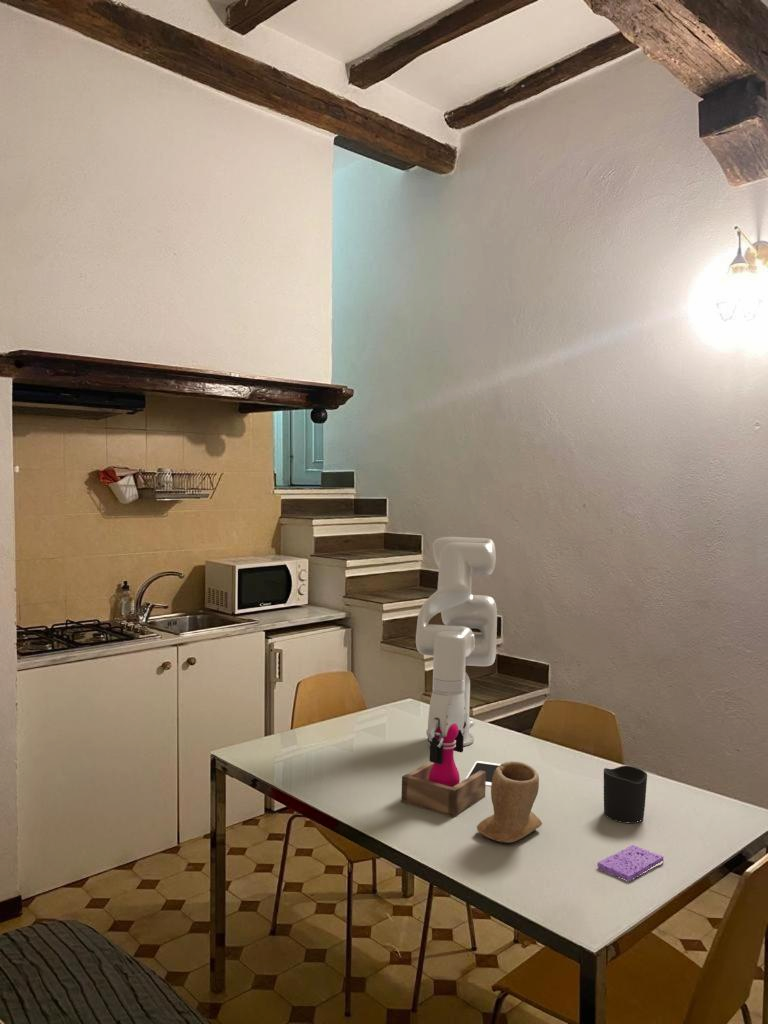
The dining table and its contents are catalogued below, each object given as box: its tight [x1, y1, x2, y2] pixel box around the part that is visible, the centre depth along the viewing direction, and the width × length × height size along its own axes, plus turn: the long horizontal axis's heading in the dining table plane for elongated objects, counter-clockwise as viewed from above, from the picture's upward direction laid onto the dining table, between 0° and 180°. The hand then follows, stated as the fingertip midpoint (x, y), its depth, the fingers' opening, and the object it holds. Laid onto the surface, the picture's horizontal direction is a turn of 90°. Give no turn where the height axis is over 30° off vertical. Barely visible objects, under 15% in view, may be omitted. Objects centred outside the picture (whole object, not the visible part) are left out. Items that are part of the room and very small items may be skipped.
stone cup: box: [476, 761, 543, 844], centre depth 168 cm, size 15×12×15 cm
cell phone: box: [465, 760, 502, 787], centre depth 204 cm, size 8×16×1 cm, turn 162°
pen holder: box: [603, 765, 648, 823], centre depth 179 cm, size 9×9×10 cm
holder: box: [400, 761, 486, 818], centre depth 186 cm, size 15×14×6 cm
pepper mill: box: [429, 723, 461, 787], centre depth 185 cm, size 7×7×20 cm
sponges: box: [597, 844, 664, 882], centre depth 155 cm, size 7×13×2 cm, turn 131°
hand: (446, 756), depth 187 cm, fingers open, 9 cm apart
